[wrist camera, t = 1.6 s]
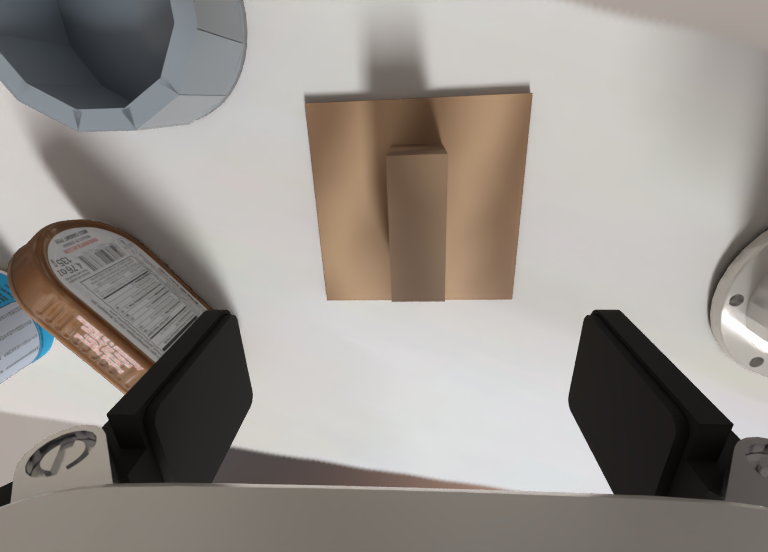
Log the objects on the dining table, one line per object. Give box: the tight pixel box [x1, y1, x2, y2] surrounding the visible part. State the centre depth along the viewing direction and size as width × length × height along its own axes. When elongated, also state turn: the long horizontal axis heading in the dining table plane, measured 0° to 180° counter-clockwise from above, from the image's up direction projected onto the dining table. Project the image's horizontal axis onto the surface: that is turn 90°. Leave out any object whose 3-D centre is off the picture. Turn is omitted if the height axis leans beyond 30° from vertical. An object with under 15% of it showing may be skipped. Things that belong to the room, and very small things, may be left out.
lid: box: [305, 93, 533, 302], centre depth 24 cm, size 13×13×6 cm
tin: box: [7, 219, 212, 394], centre depth 26 cm, size 15×3×8 cm, turn 39°
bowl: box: [0, 0, 247, 132], centre depth 20 cm, size 11×11×6 cm
